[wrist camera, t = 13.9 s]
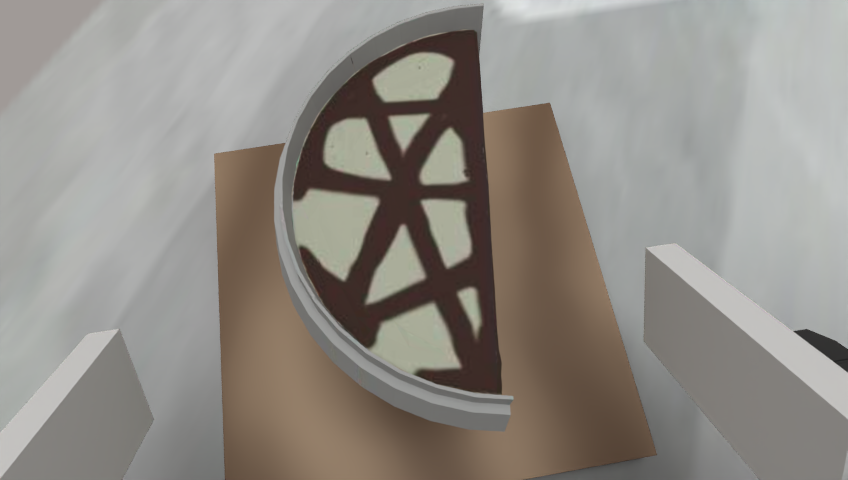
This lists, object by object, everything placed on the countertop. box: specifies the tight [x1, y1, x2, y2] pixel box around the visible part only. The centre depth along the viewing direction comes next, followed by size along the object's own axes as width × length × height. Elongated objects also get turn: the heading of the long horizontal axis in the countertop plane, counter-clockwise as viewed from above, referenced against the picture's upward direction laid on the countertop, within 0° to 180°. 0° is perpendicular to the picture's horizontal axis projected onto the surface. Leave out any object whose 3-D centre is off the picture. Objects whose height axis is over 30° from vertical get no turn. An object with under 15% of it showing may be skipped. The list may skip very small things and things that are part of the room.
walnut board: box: [214, 103, 657, 480], centre depth 25 cm, size 16×16×2 cm
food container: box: [274, 4, 514, 432], centre depth 19 cm, size 12×6×10 cm, turn 1°
